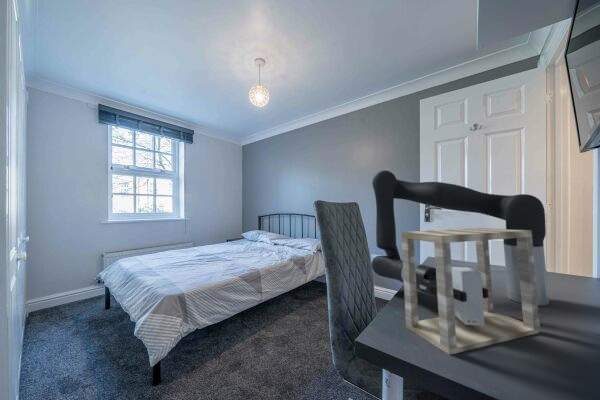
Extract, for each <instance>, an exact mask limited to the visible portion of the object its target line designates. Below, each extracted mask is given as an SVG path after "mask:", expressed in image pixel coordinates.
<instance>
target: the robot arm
mask: <svg viewBox="0 0 600 400" xmlns="http://www.w3.org/2000/svg"><path fill="white" fill-rule="evenodd" d="M371 184H372V187H373V188H372V189H373V193H374V196H375V205H376V218H375V219H376V223H375V227H376V228H375V229H376V235H375V236H376V237H375V238H376V243H375V244H376V247H377V248H378V249H379V250H383V251H384V252H385V254H386V255H377V256H375V257H374V258H373V259H372V261H371V268H372V270H373V272H374V273H375V274H377V275H378V276H380V277H383V278H387V279H392V280H397V281H398V282H401V283H403V284H404V277H403V259H401V256H400V252H399V249H398V246H397V231H396V230H397V228H396V217H395V210H394V209H395V208H394V207H395V206H394V203H395V201H394V200H395V199H398V200H404V201H405V200H406V201H410V202H415V203H418V204H421V205H426V206H430V207H434V208H440V209H445V210H451V211H457V212H464V213H465V212H467V213H476V214H480V215H486V216H489V217H493V218H496V219H500V220H502V221H505V229H512V230H531V231H532V242H533V254H534V266H535V277H536V289H537V301H538V307H540V306H548V305H550V293H549V280H548V271H547V270H546V269H547V268H546V267H547V266H546V256H545V247H544V245H545V244H544V241H545V238H546V234H547V233H546V232H547V231H546V211H545V207H544V204H543V202H542V201H541V200H540V199H539V198H538V197H536V196H534V195H531V194H525V193H524V194H521V193H520V194H514V195H507V194H506V195H503V194H494V193H487V192H486V193H485V192H481V191H478V190H475V189H472V188H469V187H466V186H462V185H459V184H454V183H448V182H441V181H424V182H410V181H405V180H400V179H398V178H397V177H396V175H395V174H394V173H393V172H392V171H389V170H380V171H378V172H377V173H375V175H374V176H373V178H372V183H371ZM502 240H503V250H504V251H503V252H504V264H505V266H504V267H505V275H506V277H505V278H506V288H507V289H506V291H507V298H508V299H510V300H512V301H513V302H516V303H521V304H522V300H521V288H520V276H519V264H518V251H517V239H516V238H508V239H502ZM415 268H416V286H417V291H418V290H419V292H422V293H425V294H428V295H431V296H434V297H437V298H438V296H437V280H436V267H433V266H429V265H425V264H422V263H417V262H415ZM482 293H483V298H488V297H489V294H488V290H487V289H486V288H482ZM453 298H454V299H456V300H459V301H462V302H466V301H467V297H466V293H465V292H463V291H460V290H457V289H454V288H453Z"/></svg>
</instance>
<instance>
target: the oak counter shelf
mask: <svg viewBox="0 0 600 400" xmlns="http://www.w3.org/2000/svg"><path fill="white" fill-rule="evenodd" d="M400 234H401V235H400V236H401V249H402V250H401V252H402V253H401V256H402V260H403V277H404V283H403V292H404V294H403V295H404V311H405V312H404V313H405V328H406V329H408V330H410V332H412V333H414V334H416V335H417V336H419V337H420V338H422V339H424V340H425V341H427V342H429V343H430V344H432V345H433V346H435V347H436V348H438V349H439V350H441V351H443V352H444V353H446V354H447V355H449V356H450V355H456V354H458V353H462V352H466V351H472V350H474V349H475V350H476V349H479V348H483V347H487V346H492V345H495V344H499V343H504V342H507V341H511V340H515V339H518V338H524V337H528V336H531V335H532V336H533V335H536V334H540V333H541V326H540V325H541V324H540V313H539V305H538V301H537V289H536V277H535V266H534V254H533V242H532V231H531V230H512V229H506V228H490V227H488V228H487V227H475V228H471V227H470V228H456V229H451V228H450V229H439V230H438V229H436V230H434V229H433V230H418V231H416V230H415V231H401V233H400ZM508 238H516V239H517V251H518V264H519V276H520V288H521V300H522V303H521V310H522V311H521V313H522V320H523V321H521V320H519V319H516V318H513V317H510V316H507V315H505V314H502V313H499V312H497V311H495V310H494V301H493V300H494V299H493V288H492V285H493V284H492V272H491V262H490V260H491V259H490V246H489V241H491V240H503V239H508ZM415 241H421V242H430V243H431V242H432V243H434V257H435V258H434V260H435V262H434V263H435V268H436V280H437V296H438V297H437V310H438V317H433V318H432V317H431V318H427V319H421V320H419V308H418V307H419V306H418V289H417V286H416V268H415V263H416V257H415V256H416V252H415ZM463 242H475V249H476V250H475V251H476V265H477V272H480V273H481V277H482V288H486V289H487V290H488V294H489V297H488V298H483V309H484V324H485V325H484V326H480V325H466V324H464V323H463V322H462V321H461V320H460V319H459V318H458V317H457V316H455V313H454V298H453V282H452V267H453V266H452V254H451V243H463Z"/></svg>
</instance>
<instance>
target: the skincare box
mask: <svg viewBox="0 0 600 400" xmlns="http://www.w3.org/2000/svg"><path fill="white" fill-rule="evenodd" d="M452 282H453V288H454V289H457V290H460V291H463V292H465V293H466V297H467V301H466V302H462V301H459V300H456V299H454V313H455V316H457V317H458V318H459V319H460V320H461V321H462V322H463V323H464V324H466V325H480V326H484V325H485V324H484V309H483V293H482V277H481V273H480V272H478V270H475V269H473V268H470V267H465V266H464V267H463V266H462V267H459V266H452Z"/></svg>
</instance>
